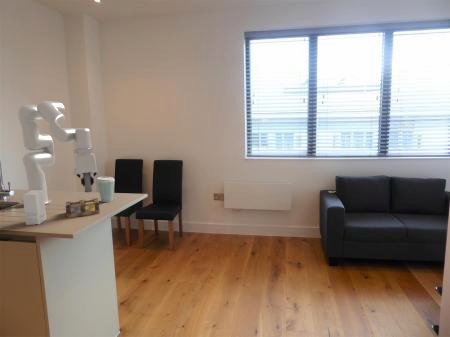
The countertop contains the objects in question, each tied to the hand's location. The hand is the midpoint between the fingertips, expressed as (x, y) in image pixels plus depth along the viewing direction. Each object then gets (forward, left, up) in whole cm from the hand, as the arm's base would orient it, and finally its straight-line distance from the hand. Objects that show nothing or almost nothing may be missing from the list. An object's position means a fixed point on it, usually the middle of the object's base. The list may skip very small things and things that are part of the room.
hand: (87, 184), depth 171 cm
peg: (0, 0, -4) cm, 4 cm away
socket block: (-4, 0, -15) cm, 16 cm away
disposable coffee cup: (+11, +21, -15) cm, 28 cm away
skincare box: (-25, -5, -15) cm, 30 cm away
